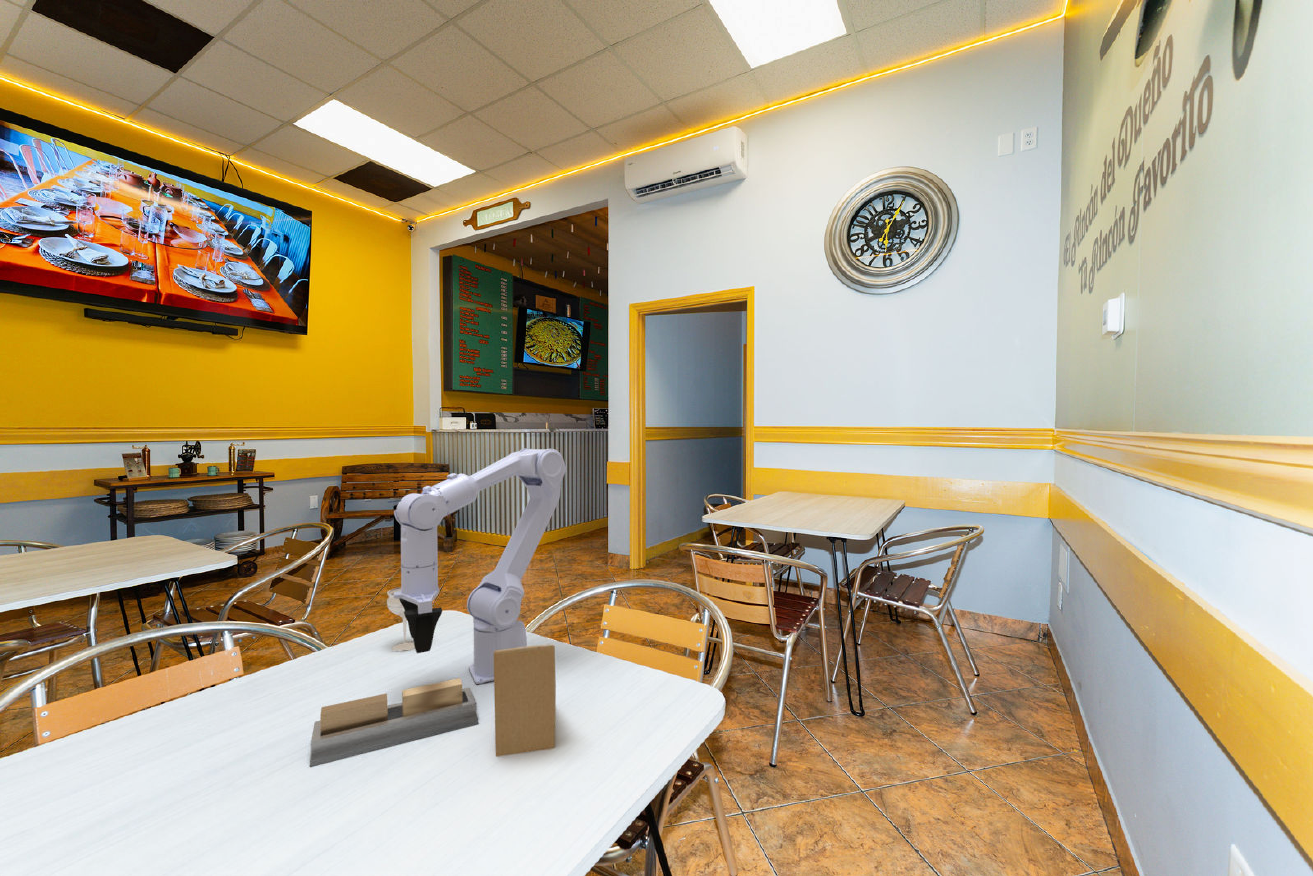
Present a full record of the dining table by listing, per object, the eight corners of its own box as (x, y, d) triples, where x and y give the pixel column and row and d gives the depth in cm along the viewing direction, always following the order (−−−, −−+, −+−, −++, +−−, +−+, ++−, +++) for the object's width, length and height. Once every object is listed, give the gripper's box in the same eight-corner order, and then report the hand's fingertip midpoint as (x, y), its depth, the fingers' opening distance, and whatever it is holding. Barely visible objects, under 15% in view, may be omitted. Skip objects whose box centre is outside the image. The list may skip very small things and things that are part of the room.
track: (468, 699, 91) (468, 668, 91) (478, 723, 83) (478, 689, 83) (315, 734, 80) (315, 699, 80) (310, 766, 72) (309, 727, 72)
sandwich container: (552, 698, 91) (551, 610, 91) (556, 749, 76) (555, 644, 76) (499, 704, 89) (499, 615, 89) (493, 758, 74) (493, 650, 74)
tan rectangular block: (460, 705, 87) (459, 678, 87) (462, 712, 85) (462, 684, 85) (402, 719, 83) (402, 690, 83) (403, 726, 81) (403, 696, 81)
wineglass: (379, 652, 111) (379, 594, 111) (400, 639, 118) (400, 585, 118) (409, 654, 110) (409, 596, 110) (428, 641, 116) (428, 586, 116)
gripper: (390, 558, 95) (391, 634, 95) (397, 577, 83) (398, 664, 83) (432, 554, 99) (433, 627, 99) (445, 571, 86) (446, 654, 86)
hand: (420, 643), depth 91 cm, fingers open, 7 cm apart
